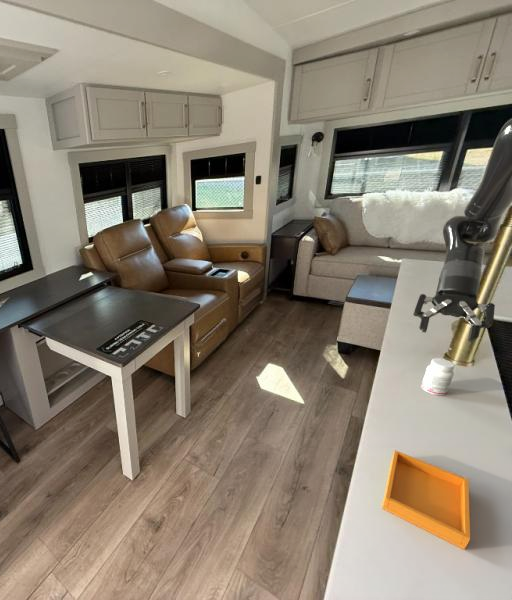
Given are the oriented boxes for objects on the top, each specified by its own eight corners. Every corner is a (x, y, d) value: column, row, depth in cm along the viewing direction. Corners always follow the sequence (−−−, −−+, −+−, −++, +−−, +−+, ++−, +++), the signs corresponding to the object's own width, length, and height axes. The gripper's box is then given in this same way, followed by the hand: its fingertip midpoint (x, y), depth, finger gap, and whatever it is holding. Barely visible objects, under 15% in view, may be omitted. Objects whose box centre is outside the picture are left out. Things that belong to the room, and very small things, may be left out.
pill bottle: (451, 394, 79) (462, 366, 76) (435, 397, 79) (446, 369, 76) (431, 382, 84) (440, 355, 81) (415, 385, 83) (424, 359, 80)
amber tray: (463, 489, 58) (468, 479, 57) (464, 550, 50) (470, 539, 49) (391, 459, 65) (394, 449, 64) (381, 508, 57) (385, 497, 56)
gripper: (425, 271, 87) (412, 324, 84) (504, 278, 78) (493, 338, 75) (420, 283, 93) (407, 333, 90) (494, 291, 83) (483, 347, 80)
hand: (446, 335), depth 82 cm, fingers open, 8 cm apart
